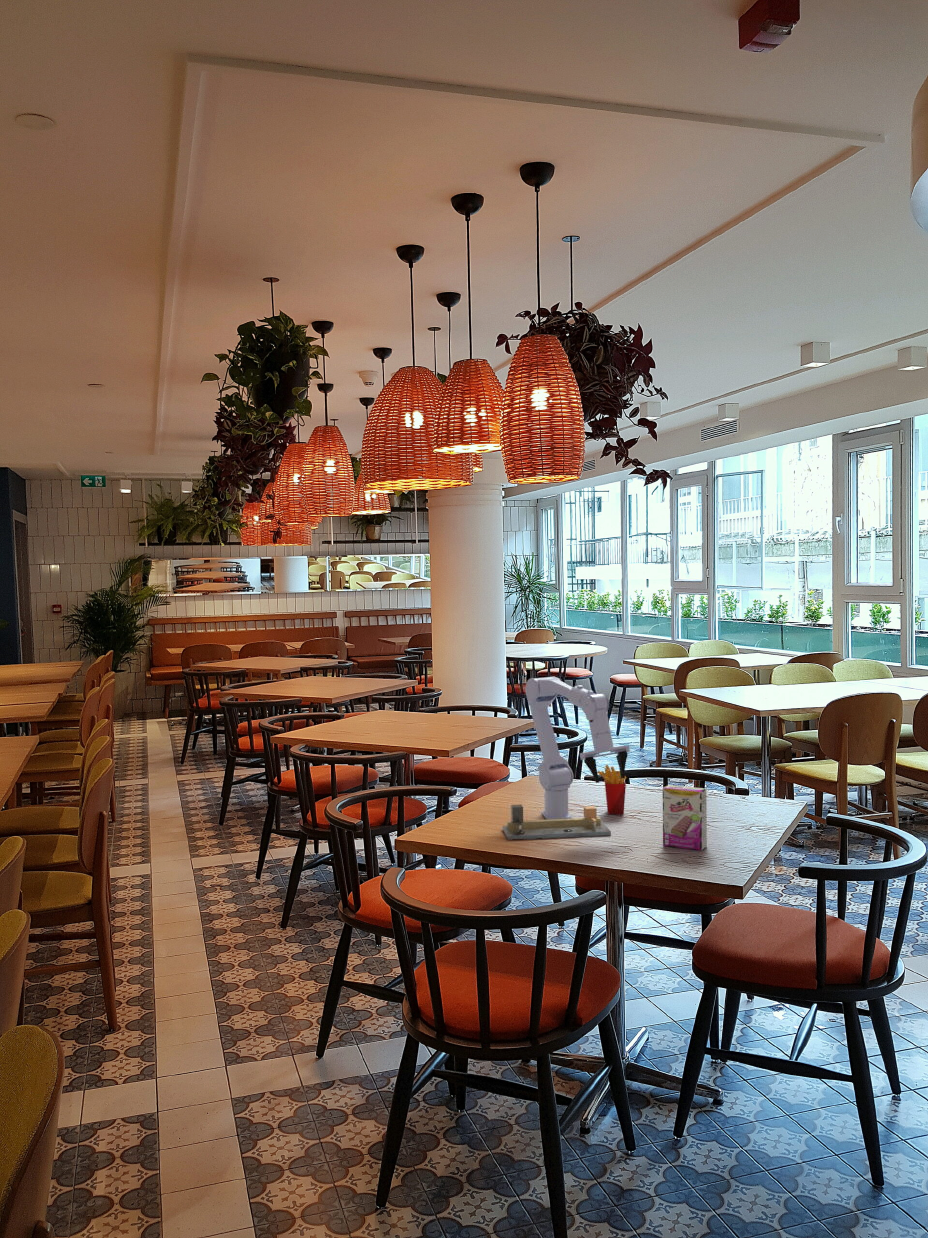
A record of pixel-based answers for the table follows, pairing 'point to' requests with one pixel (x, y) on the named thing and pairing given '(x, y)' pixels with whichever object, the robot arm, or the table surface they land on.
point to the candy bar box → (684, 817)
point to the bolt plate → (551, 827)
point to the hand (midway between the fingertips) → (610, 780)
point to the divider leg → (590, 813)
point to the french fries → (614, 791)
